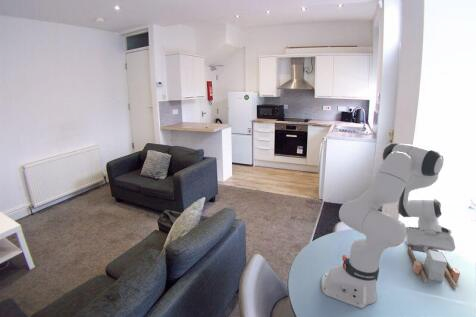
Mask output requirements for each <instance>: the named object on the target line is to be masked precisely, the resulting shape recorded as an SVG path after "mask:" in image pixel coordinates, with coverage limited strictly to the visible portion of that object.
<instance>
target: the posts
mask: <svg viewBox="0 0 476 317" xmlns="http://www.w3.org/2000/svg"><path fill="white" fill-rule="evenodd" d="M420 263H421V261H417V260H416V261H414V266H413V265H412V271H413V274H416V275H420V269H421V264H420ZM451 268H452V270H451V276H452V278H453V280H454V281H455V283H458V281H459V279H460V274H461V273H460V271H459V270H458V268H456V267H455V268H454V267H451Z"/></svg>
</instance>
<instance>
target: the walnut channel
mask: <svg viewBox="0 0 476 317" xmlns="http://www.w3.org/2000/svg"><path fill="white" fill-rule="evenodd" d="M407 246H408V245H407ZM413 251H414V250H412V249H411V247H409V246H408V247H407V254H408V256H409V258H410V262H411V264H412V267H413V266H414V261H417V259H416V257H415V254H414V252H413ZM440 252H441V253H442V254H443V256H444V258H445V259H446V261H447V266H446V267H447V269H448V271H449V273H450V274H451V270H452V268H453V267H452V266H451V265H450V263H449V262H448V260H447V258H446V257H445V255H444V253H443V252H442V251H440Z"/></svg>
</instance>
